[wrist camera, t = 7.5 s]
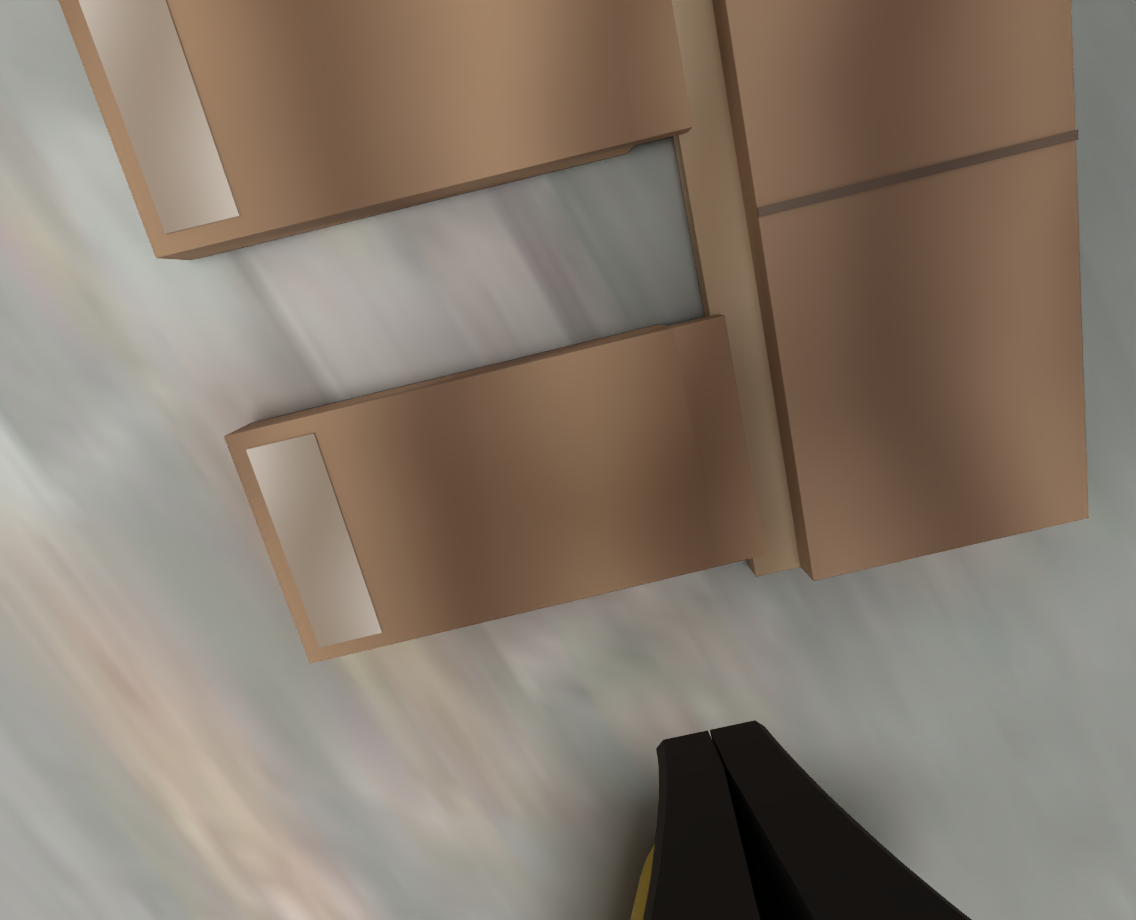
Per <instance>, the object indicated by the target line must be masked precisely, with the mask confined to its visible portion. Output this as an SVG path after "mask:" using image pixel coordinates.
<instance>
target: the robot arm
mask: <svg viewBox="0 0 1136 920" xmlns="http://www.w3.org/2000/svg"><path fill="white" fill-rule="evenodd" d="M710 732H711V737H712V739H711V737H710V735H709V733H708V731H703V732H698V733H694V734H689V735H684V736H680V737H675V738H670V739H665V740H663V741H662V742H661V743H660V745H659V746H658V747H657V749H656V750H657V756H658V764H659V804H658V819H657V830H656V838H655V846H654V854H653V862H652V870H651V878H650V884H649V890H648V895H647V901H646V906H645V911H644V916H643V920H971V919H970V918H969V917H967V916H966V915H965V914H964V913H962V912H961V911H960V910H959V909H957V908H956V907H955V906H954V905H952V904H951V903H950V902H949V901H947V900H946V899H945V898H944V897H942V896H941V895H940V894H939V893H938V892H936V891H935V890H934V889H933V888H932V887H930V886H929V885H928V884H927V883H926V882H924V881H923V880H922V879H921V878H920V877H919V876H917V875H916V874H915V873H914V872H913V871H911V870H910V869H909V868H908V867H907V866H905V865H904V864H903V863H902V862H901V861H900V860H898V859H897V858H896V857H895V856H894V855H893V854H892V853H890V852H889V851H888V850H887V849H886V848H885V847H884V846H883V845H881V844H880V843H879V842H878V841H877V840H876V839H875V838H874V837H873V836H872V835H870V834H869V833H868V832H867V831H866V830H865V829H864V828H863V827H862V826H861V825H860V824H859V823H857V822H856V821H855V820H854V819H853V818H852V817H851V816H850V815H849V814H848V813H847V812H846V811H845V810H843V809H842V808H841V807H840V806H839V805H838V804H837V803H836V802H835V801H834V800H833V799H832V798H831V797H830V796H829V795H828V794H827V793H826V792H825V791H824V790H823V789H822V788H821V787H820V786H819V785H818V784H817V783H816V782H815V781H814V780H813V779H812V778H811V777H810V776H809V775H808V774H807V773H806V772H805V771H804V770H803V769H802V768H801V767H800V766H799V765H798V764H797V763H796V762H795V760H794V759H793V758H792V757H791V756H790V755H789V754H788V753H787V752H786V751H785V750H784V749H783V747H782V746H781V745H780V744H779V743H778V742H777V741H776V740H775V738H774V737H773V736H772V735H771V734H770V733H769V731H768V730H767V729H766V728H765V726H763V725H761V724H760V723H758V722H757V721H750V722H746V723H741V724H736V725H731V726H727V727H722V728H717V729H713V730H710Z"/></svg>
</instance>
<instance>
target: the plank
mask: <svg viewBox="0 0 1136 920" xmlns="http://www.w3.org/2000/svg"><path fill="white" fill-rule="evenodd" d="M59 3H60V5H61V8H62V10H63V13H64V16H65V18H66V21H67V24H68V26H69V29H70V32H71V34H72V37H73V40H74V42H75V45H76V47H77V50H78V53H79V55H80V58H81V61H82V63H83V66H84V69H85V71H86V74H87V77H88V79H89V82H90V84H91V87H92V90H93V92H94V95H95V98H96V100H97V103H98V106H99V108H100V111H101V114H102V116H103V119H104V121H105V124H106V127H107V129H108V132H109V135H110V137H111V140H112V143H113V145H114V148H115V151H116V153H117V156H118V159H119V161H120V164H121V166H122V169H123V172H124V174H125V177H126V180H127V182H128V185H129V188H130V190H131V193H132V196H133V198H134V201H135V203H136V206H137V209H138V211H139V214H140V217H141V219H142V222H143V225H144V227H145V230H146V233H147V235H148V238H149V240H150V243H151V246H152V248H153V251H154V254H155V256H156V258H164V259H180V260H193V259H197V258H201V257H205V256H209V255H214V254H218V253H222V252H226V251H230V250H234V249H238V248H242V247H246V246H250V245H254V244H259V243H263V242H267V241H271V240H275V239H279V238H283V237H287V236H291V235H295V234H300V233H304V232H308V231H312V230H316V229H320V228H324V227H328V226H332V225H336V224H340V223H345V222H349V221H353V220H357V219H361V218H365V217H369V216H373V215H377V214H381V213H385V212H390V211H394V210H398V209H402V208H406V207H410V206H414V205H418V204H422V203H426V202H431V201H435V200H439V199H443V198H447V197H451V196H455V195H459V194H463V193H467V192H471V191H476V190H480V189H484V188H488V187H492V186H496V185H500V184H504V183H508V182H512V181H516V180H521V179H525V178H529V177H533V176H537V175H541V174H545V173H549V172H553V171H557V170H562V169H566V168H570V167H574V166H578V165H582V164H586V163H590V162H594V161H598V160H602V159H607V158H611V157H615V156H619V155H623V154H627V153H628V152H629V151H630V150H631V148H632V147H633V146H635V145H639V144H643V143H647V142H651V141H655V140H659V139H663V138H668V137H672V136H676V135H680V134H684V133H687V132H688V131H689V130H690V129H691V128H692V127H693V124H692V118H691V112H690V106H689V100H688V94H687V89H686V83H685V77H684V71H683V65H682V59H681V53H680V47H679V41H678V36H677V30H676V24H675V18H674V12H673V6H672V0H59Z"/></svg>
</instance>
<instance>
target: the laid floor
mask: <svg viewBox="0 0 1136 920" xmlns="http://www.w3.org/2000/svg"><path fill="white" fill-rule="evenodd" d="M672 6H673V12H674V18H675V24H676V30H677V36H678V41H679V47H680V53H681V59H682V65H683V71H684V77H685V83H686V89H687V94H688V100H689V106H690V112H691V118H692V124H693V127H692V128H691V129H690V130H689V131H688V132H687V133H684V134H680V135H676V136H673V140H674V146H675V151H676V157H677V163H678V168H679V174H680V180H681V185H682V191H683V196H684V202H685V208H686V213H687V219H688V225H689V230H690V236H691V241H692V247H693V253H694V258H695V264H696V270H697V275H698V281H699V286H700V292H701V298H702V303H703V309H704V315H705V317H708V316H712V315H716V314H720V315H725V319H726V325H727V331H728V337H729V343H730V349H731V354H732V360H733V366H734V372H735V378H736V384H737V390H738V396H739V401H740V407H741V413H742V419H743V425H744V431H745V437H746V443H747V449H748V454H749V460H750V466H751V472H752V478H753V484H754V490H755V496H756V502H757V507H758V513H759V519H760V525H761V531H762V537H763V543H764V549H765V554H766V555H763V556H759V557H755V558H751V559H748V562H749V568H750V569H751V570H752V572H753V573H754V575H755V576H756V577H757V576H761V575H766V574H770V573H774V572H779V571H783V570H787V569H792V568H796V567H801V568H802V569H803V570H804V571H805V572H806V573H807V574H808V575H809V577H810V578H811V579H812V580H813V581H816V580H820V579H825V578H829V577H833V576H838V575H842V574H846V573H851V572H855V571H859V570H864V569H868V568H872V567H877V566H881V565H885V564H890V563H894V562H898V561H903V560H907V559H911V558H916V557H920V556H924V555H929V554H933V553H938V552H942V551H946V550H951V549H955V548H959V547H964V546H968V545H972V544H977V543H981V542H985V541H990V540H994V539H998V538H1003V537H1007V536H1011V535H1016V534H1020V533H1024V532H1029V531H1033V530H1037V529H1042V528H1046V527H1050V526H1055V525H1059V524H1064V523H1068V522H1072V521H1077V520H1081V519H1085V518H1089V516H1088V487H1087V457H1086V428H1085V399H1084V369H1083V340H1082V310H1081V281H1080V251H1079V222H1078V193H1077V163H1076V140H1078V130H1075V104H1074V75H1073V45H1072V16H1071V0H672Z"/></svg>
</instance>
